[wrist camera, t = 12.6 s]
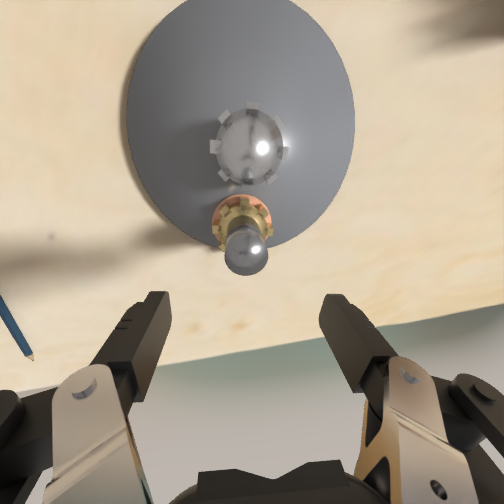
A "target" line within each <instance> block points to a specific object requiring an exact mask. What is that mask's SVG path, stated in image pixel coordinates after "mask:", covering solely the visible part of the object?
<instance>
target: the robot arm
mask: <svg viewBox="0 0 504 504" xmlns="http://www.w3.org/2000/svg"><path fill="white" fill-rule="evenodd" d="M171 321H172V314H171V306H170V299H169V293H168V292H167V291H151V292H149V294H148V295H147V297H146V299H145V300H144V302H137V303H136V304H134V305H133V306H132V307H130V308H129V309H128V310H127V311H126V312H125V314H124V315H123V317H122V318H121V321H120V322H119V323H118V324H117V326H116V327H115V330H113V331H112V333H111V334H110V336H109V337H108V339H107V340H106V342H105V343H104V345H103V346H102V347H101V349H100V350H99V352H98V353H97V355H96V356H95V358H94V359H93V361H92V362H91V363H90V365H89V366H87V367H84V368H82V369H80V370H78V371H76V372H75V373H73V374H72V375H70V376H69V377H68V378H67V379H66V380H64V381H63V382H62V384H61V385H60V386H59V387H56V388H53V389H50V390H47V391H43V392H40V393H37V394H33V395H30V396H27V397H24V398H19V397H18V395H17V394H16V393H15V392H14V391H11V390H0V504H25V502H26V500H27V499H28V497H29V495H30V493H31V491H32V489H33V488H34V486H35V484H36V482H37V481H38V479H39V477H40V475H41V473H42V471H43V470H46V469H48V468H50V467H53V477H52V481H51V482H50V483H48V484H47V486H46V488H45V491H44V495H43V503H42V504H154V503H153V500H152V496H151V493H150V489H149V486H148V483H147V480H146V477H145V474H144V471H143V467H142V464H141V460H140V457H139V453H138V450H137V447H136V443H135V439H134V436H133V433H132V429H131V426H130V422H129V418H128V414H129V411H130V408H131V406H132V404H133V402H143V401H144V399H145V395H146V393H147V390H148V388H149V385H150V382H151V379H152V376H153V374H154V371H155V368H156V366H157V363H158V360H159V357H160V355H161V352H162V349H163V346H164V344H165V341H166V338H167V335H168V333H169V330H170V327H171ZM319 325H320V328H321V330H322V332H323V334H324V336H325V338H326V340H327V342H328V344H329V346H330V348H331V349H332V352H333V354H334V356H335V358H336V360H337V362H338V363H339V366H340V368H341V370H342V372H343V374H344V376H345V378H346V380H347V382H348V384H349V386H350V388H351V390H352V391H353V393H364V394H365V395H366V397H367V399H366V401H365V404H364V415H363V427H362V437H361V447H360V453H359V457H358V460H357V463H356V466H355V471H354V476H353V475H350V474H348V473H346V472H344V469H343V466H342V464H341V461H340V460H330V461H319V462H308V463H306V464H304V465H302V466H300V467H298V468H296V469H294V470H292V471H290V472H289V473H287V474H285V475H283V476H281V477H279V478H277V479H269V478H265V477H262V476H258V475H255V474H252V473H248V472H245V471H241V470H238V469H228V470H217V471H205V472H199V473H198V482H197V484H196V485H194V486H192V487H189V488H188V489H187V490H185V491H184V492H182V493H181V494H179V495H178V496H177V497H176V498H175V499H174V500H172V501H171V502H170V503H169V504H504V474H503V473H502V472H501V471H500V469H499V468H498V467H497V466H496V465H495V463H494V462H493V461H492V460H491V458H490V457H489V456H488V455H487V453H486V452H485V451H484V450H483V448H482V447H481V446H480V445H479V443H480V442H481V441H483V440H484V439H485V438H487V439H488V440H489V441H490V442H491V443H492V445H493V446H494V447H495V448H496V449H497V450H498V452H499V453H500V454H501V455H502V456H503V458H504V396H503V395H502V394H501V393H500V392H499V391H498V390H497V389H495V388H494V387H493V386H491V385H490V384H488V383H487V382H485V381H483V380H481V379H479V378H477V377H475V376H472V375H469V374H458V375H457V377H456V378H455V379H454V380H453V381H449V380H445V379H441V378H438V377H434V376H430V375H429V374H428V373H427V372H426V371H425V370H424V369H423V368H422V367H421V366H419V365H418V364H417V363H415V362H413V361H411V360H409V359H407V358H404V357H400V356H398V354H397V353H396V352H395V351H394V349H393V348H392V347H391V346H390V345H389V343H388V342H387V341H386V340H385V339H384V337H383V336H382V335H381V334H380V332H379V331H378V330H377V329H376V328H375V326H374V325H373V324H372V323H371V321H369V319H368V318H367V317H366V315H365V314H364V313H363V312H362V311H361V310H360V309H359V308H357V307H356V306H355V305H353V304H350V303H349V301H348V300H347V299H346V298H345V296H344V295H342V294H327V295H326V296H325V298H324V301H323V305H322V308H321V311H320V314H319Z"/></svg>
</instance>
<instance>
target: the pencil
mask: <svg viewBox="0 0 504 504" xmlns="http://www.w3.org/2000/svg"><path fill="white" fill-rule="evenodd" d="M0 316H1V318H2V320H3V321H4V323H5V325H6V326H7V328H8V329H9V331H10V333H11V334H12V336H13V338H14V339H15V341H16V343H17V344H18V346H19V347H20V349H21V350H22V352H23V354H24V355H25V356H26V357H27V358H29V359H31V360H32V361H33V352H32V351H31V349H30V347H29V345H28V343H27V342H26V340H25V338H24V336H23V334H22V333H21V331H20V329H19V327H18V326H17V324H16V322H15V320H14V319H13V317H12V315H11V313H10V311H9V310H8V308H7V306H6V304H5V303H4V301H3V299H2V297H1V295H0Z"/></svg>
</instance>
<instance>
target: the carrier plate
mask: <svg viewBox="0 0 504 504" xmlns="http://www.w3.org/2000/svg"><path fill="white" fill-rule="evenodd" d="M127 131H128V140H129V145H130V149H131V154H132V158H133V161H134V164H135V167H136V169H137V172H138V175H139V177H140V179H141V181H142V183H143V185H144V187H145V189H146V191H147V192H148V194H149V195H150V197H151V199H152V200H153V202H154V203H155V204H156V206H157V207H158V208H159V209H160V211H161V212H162V213H163V214H164V215H165V216H166V217H167V218H168V219H169V220H170V221H171V222H172V223H173V224H174V225H176V226H177V227H178V228H179V229H181V230H182V231H183V232H185V233H186V234H188V235H190V236H191V237H193V238H194V239H196V240H199V241H201V242H203V243H205V244H208V245H211V246H213V247H216V248H219V247H218V246H219V241H220V237H219V234H212V225H213V222H214V220H220V218H221V214H220V212H219V208H220V206H221V205H222V204H223V203H225V202H227V203H228V204H229V205H232V204H234V203H239V202H240V196H243V197H249V200H250V202H249V203H250V204H253V205H254V206H256V207H258V206H259V205H260V204H262V205H263V206H264V207H265V208H266V210H267V211H268V213H269V215H268V216H267V217H266V218H265V220H266V222H267V223H271V225H272V226H273V228H274V229H273V236H266V239H265V241H264V242H265V245H266V248H270V247H274V246H277V245H279V244H282V243H284V242H287V241H289V240H290V239H292V238H294V237H296V236H297V235H299V234H300V233H302V232H303V231H305V230H306V229H307V228H308V227H310V226H311V225H312V224H313V223H314V222H315V221H316V220H317V219H318V218H319V217H320V216H321V215H322V214H323V213H324V212H325V210H326V209H327V207H328V206H329V205H330V203H331V202H332V201H333V199H334V197H335V195H336V194H337V192H338V190H339V189H340V186H341V184H342V182H343V180H344V177H345V175H346V172H347V169H348V166H349V163H350V159H351V154H352V149H353V143H354V133H355V110H354V102H353V94H352V90H351V86H350V82H349V78H348V75H347V72H346V70H345V67H344V65H343V62H342V59H341V57H340V56H339V54H338V52H337V50H336V48H335V46H334V44H333V43H332V41H331V40H330V38H329V37H328V36H327V34H326V33H325V32H324V30H323V29H322V28H321V26H320V25H319V24H318V23H317V22H316V21H315V20H314V19H313V18H312V17H311V16H310V15H309V14H308V13H306V12H305V11H304V10H302V9H301V8H300V7H298V6H297V5H295V4H294V3H293V2H291V1H289V0H187V1H186V2H184V3H182V4H181V5H179V6H178V7H177V8H176V9H174V10H173V11H172V12H171V13H169V14H168V15H167V16H166V17H165V18H164V19H163V20H162V22H161V23H160V24H159V25H158V26H157V27H156V28H155V30H154V31H153V32H152V34H151V35H150V37H149V39H148V40H147V42H146V43H145V45H144V47H143V48H142V51H141V53H140V55H139V57H138V60H137V62H136V64H135V67H134V71H133V74H132V78H131V81H130V85H129V92H128V100H127Z"/></svg>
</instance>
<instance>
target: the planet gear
mask: <svg viewBox="0 0 504 504" xmlns="http://www.w3.org/2000/svg"><path fill="white" fill-rule="evenodd" d="M249 202H250V200H249V197H243V196H240V202H239V203H234V204H232V205H229V204H228V203H227V202H225V203H223V204H222V205H221V206H220V208H219V212H220V214H221V218H220V220H214V222H213V225H212V234H219V237H220V241H219V246H218V247H219V248H220V249H221V250H222V251H223V252H225V262H226V265H227V266H228V268H229V269H230V270H231V271H232V272H234V273H236V274H239V275H243V276H248V275H253V274H256V273H258V272H259V271H261V270H262V269H263V268H264V266H265V265H266V263H267V260H268V251H267V248H266V245H265V242H264V241H265V239H266V236H273V229H274V228H273V226H272V225H271V223H267V222H266V220H265V218H266V217H267V216H268V215H269V213H268V211H267V210H266V208H265V207H264V206H263V205H262V204H260V205H259V206H258V207H256V206H254V205H253V204H250V203H249Z"/></svg>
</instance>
